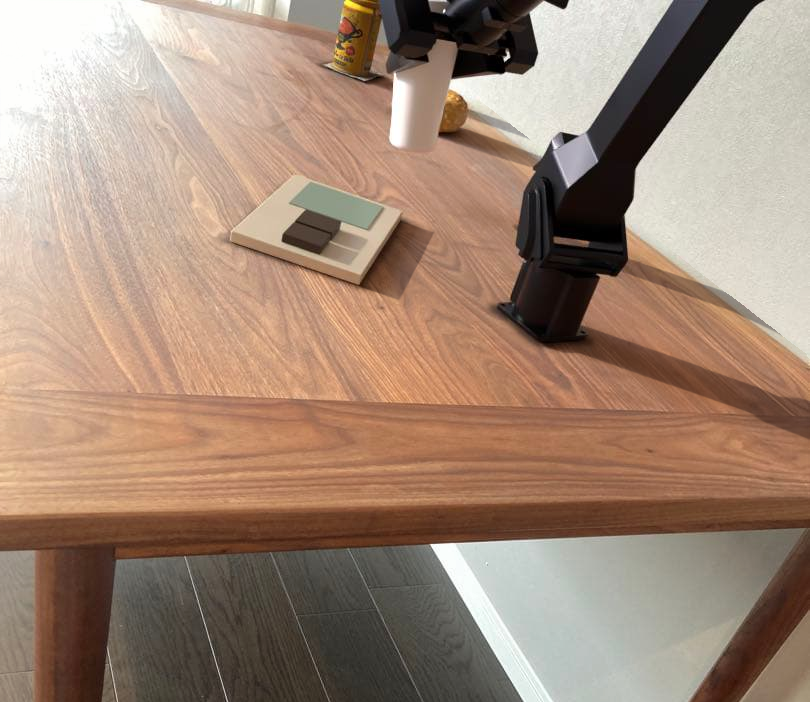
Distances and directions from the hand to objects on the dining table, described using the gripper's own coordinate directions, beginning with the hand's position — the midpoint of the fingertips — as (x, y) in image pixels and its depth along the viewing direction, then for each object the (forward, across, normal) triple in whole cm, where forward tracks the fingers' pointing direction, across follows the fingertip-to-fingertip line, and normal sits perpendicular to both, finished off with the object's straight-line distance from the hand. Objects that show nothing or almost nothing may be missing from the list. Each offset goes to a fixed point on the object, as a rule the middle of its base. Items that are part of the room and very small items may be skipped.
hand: (412, 73), depth 99 cm
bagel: (+23, -22, -8) cm, 33 cm away
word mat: (-1, +17, +18) cm, 25 cm away
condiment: (+39, -24, -23) cm, 51 cm away
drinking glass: (+4, -1, +6) cm, 8 cm away
